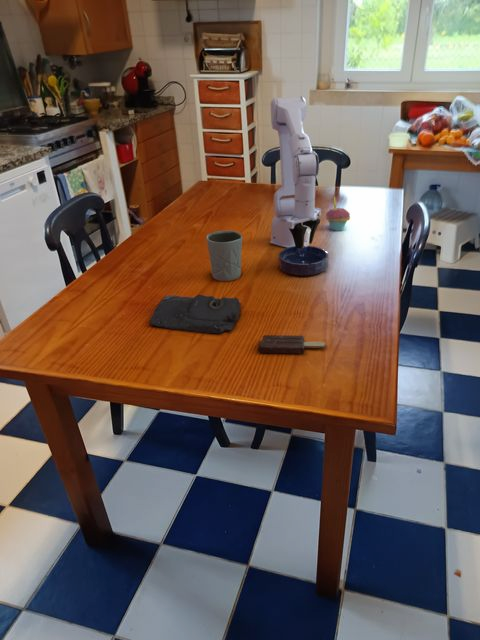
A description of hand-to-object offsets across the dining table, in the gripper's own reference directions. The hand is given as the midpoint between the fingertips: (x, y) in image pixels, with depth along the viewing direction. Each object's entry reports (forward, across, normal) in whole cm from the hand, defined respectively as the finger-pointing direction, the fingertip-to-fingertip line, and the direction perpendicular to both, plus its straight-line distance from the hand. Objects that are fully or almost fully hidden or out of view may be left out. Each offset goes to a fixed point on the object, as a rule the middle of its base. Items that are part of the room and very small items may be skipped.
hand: (303, 245), depth 144 cm
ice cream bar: (+7, -38, -24) cm, 46 cm away
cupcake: (+7, +35, +10) cm, 37 cm away
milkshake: (+4, 0, 0) cm, 4 cm away
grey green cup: (+7, -18, +15) cm, 24 cm away
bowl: (+7, 0, 0) cm, 7 cm away
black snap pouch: (+7, -41, +4) cm, 42 cm away
